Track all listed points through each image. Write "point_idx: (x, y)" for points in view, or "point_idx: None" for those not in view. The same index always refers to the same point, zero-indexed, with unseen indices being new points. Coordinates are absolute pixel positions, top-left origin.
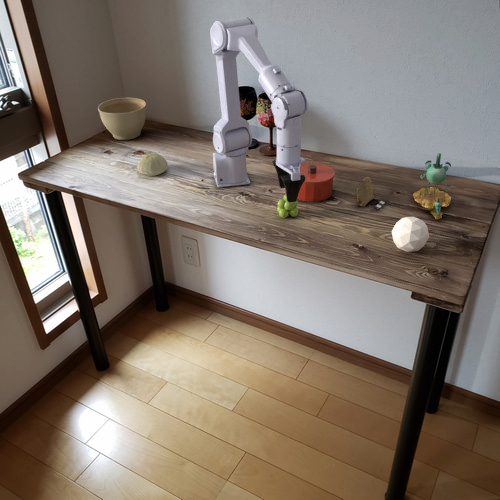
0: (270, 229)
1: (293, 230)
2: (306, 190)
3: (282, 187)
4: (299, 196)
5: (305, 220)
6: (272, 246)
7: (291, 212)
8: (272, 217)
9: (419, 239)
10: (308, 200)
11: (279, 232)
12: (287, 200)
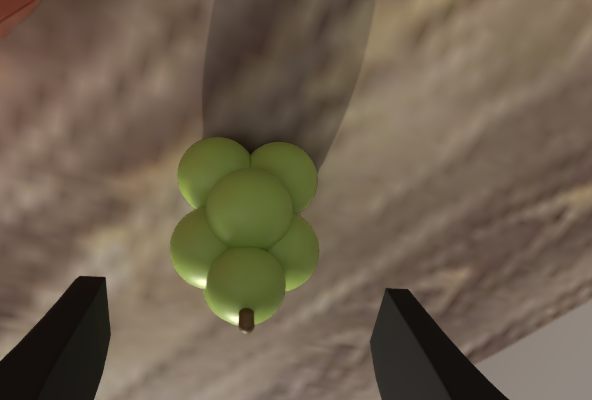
0: (371, 313)
1: (445, 214)
2: (14, 3)
3: (107, 330)
4: (1, 36)
5: (369, 104)
6: (519, 337)
7: (304, 208)
8: None
9: None
10: None
11: (423, 283)
12: (375, 350)
